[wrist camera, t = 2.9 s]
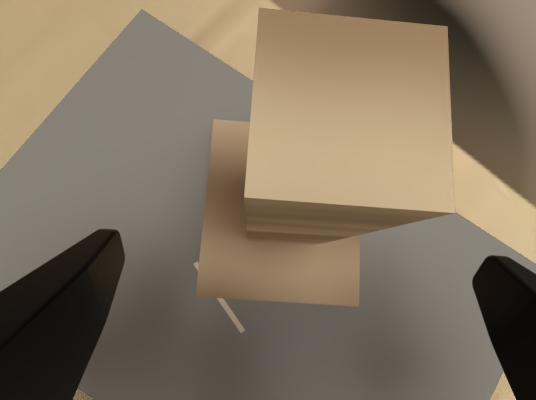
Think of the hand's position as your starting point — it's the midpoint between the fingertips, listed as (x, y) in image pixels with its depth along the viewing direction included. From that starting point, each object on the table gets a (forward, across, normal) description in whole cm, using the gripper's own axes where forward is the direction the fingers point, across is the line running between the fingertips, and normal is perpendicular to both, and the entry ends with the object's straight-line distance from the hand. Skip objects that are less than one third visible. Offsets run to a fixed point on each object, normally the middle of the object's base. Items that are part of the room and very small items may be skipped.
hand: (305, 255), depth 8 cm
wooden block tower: (+7, 0, +4) cm, 9 cm away
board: (+6, +1, +8) cm, 10 cm away
